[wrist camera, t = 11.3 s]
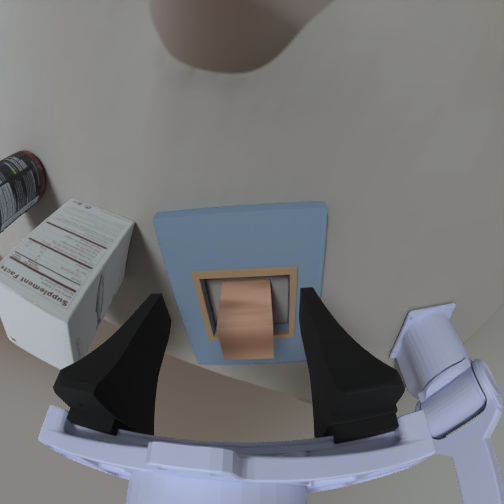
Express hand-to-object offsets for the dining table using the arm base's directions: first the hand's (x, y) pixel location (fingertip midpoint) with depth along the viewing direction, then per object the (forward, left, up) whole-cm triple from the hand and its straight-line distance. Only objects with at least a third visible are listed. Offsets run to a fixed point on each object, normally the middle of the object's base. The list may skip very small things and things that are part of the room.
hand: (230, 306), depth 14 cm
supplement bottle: (+7, +21, -11) cm, 25 cm away
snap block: (-9, 0, -10) cm, 14 cm away
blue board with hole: (-9, 0, -10) cm, 14 cm away
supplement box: (-1, +14, -11) cm, 18 cm away
